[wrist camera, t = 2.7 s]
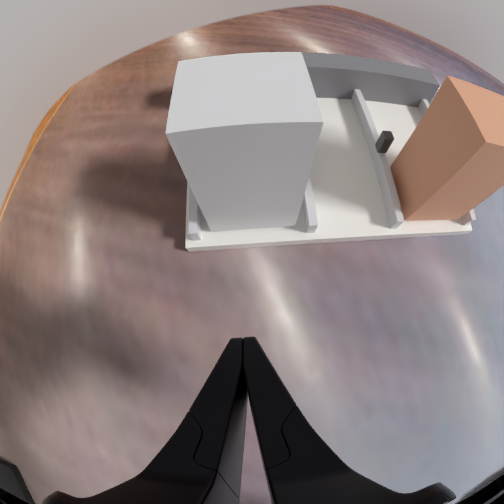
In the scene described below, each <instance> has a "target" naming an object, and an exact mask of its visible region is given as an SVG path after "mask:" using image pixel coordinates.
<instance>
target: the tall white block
mask: <svg viewBox="0 0 504 504" xmlns="http://www.w3.org/2000/svg"><path fill="white" fill-rule="evenodd" d="M322 126H323V119H322V116H321V112H320V108H319V105H318V102H317V98H316V95H315V92H314V88H313V85H312V82H311V79H310V76H309V73H308V70H307V67H306V64H305V61H304V58H303V55H302V52H262V53H243V54H231V55H220V56H212V57H204V58H197V59H190V60H184V61H179V62H178V66H177V71H176V76H175V81H174V86H173V91H172V97H171V102H170V108H169V114H168V120H167V127H166V133H165V134H166V136H167V138H168V140H169V143H170V145H171V147H172V149H173V151H174V153H175V156H176V158H177V160H178V162H179V164H180V166H181V169H182V171H183V173H184V175H185V177H186V179H187V181H188V184H189V186H190V188H191V190H192V192H193V194H194V196H195V198H196V200H197V203H198V205H199V207H200V209H201V211H202V213H203V215H204V217H205V219H206V221H207V223H208V225H209V227H210V230H211V231H225V230H239V229H254V228H269V227H285V226H295V225H296V221H297V218H298V214H299V211H300V207H301V204H302V200H303V197H304V193H305V190H306V186H307V182H308V179H309V175H310V171H311V168H312V164H313V160H314V156H315V153H316V149H317V145H318V141H319V137H320V133H321V129H322Z"/></svg>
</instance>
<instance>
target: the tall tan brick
mask: <svg viewBox="0 0 504 504" xmlns="http://www.w3.org/2000/svg"><path fill="white" fill-rule="evenodd" d="M390 169H391V172H392V175H393V179H394V182H395V185H396V189H397V193H398V196H399V200H400V204H401V208H402V212H403V216H404V220H405V221H419V220H458V219H459V218H460V217H462V216H463V215H465V214H466V213H467V212H469V211H470V210H472V209H473V208H474V207H476V206H477V205H478V204H480V203H481V202H482V201H484V200H485V199H486V198H488V197H489V196H490V195H492V194H493V193H494V192H496V191H497V190H498V189H499V188H501V187H502V186H503V185H504V96H501V95H499V94H497V93H494V92H492V91H490V90H487V89H485V88H482V87H480V86H477V85H474V84H471V83H469V82H466V81H463V80H460V79H457V78H454V77H451V76H447V77H446V79H445V80H444V82H443V84H442V86H441V87H440V89H439V91H438V92H437V94H436V96H435V97H434V99H433V101H432V102H431V104H430V106H429V107H428V109H427V111H426V112H425V114H424V116H423V117H422V119H421V120H420V122H419V124H418V125H417V127H416V128H415V130H414V131H413V133H412V135H411V136H410V138H409V139H408V141H407V142H406V144H405V145H404V147H403V148H402V150H401V151H400V153H399V154H398V156H397V157H396V159H395V160H394V162H393V163H392V165H391V166H390Z"/></svg>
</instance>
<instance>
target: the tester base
mask: <svg viewBox="0 0 504 504" xmlns="http://www.w3.org/2000/svg"><path fill="white" fill-rule="evenodd" d="M302 55H303V58H304V61H305V64H306V67H307V70H308V73H309V76H310V79H311V82H312V85H313V88H314V92H315V95H316V98H317V102H318V105H319V108H320V112H321V116H322V119H323V126H322V129H321V133H320V137H319V141H318V145H317V149H316V153H315V156H314V160H313V164H312V168H311V171H310V175H309V179H308V182H307V186H306V190H305V193H304V197H303V200H302V204H301V207H300V211H299V214H298V218H297V221H296V225H295V226H285V227H269V228H254V229H239V230H225V231H211V230H210V227H209V225H208V223H207V221H206V219H205V217H204V215H203V213H202V211H201V209H200V207H199V205H198V203H197V200H196V198H195V196H194V194H193V192H192V190H191V188H190V186H189V184H188V181H187V203H186V242H185V248H186V249H187V250H188V251H189V252H192V251H207V250H222V249H237V248H252V247H267V246H282V245H298V244H313V243H329V242H345V241H361V240H378V239H394V238H411V237H428V236H445V235H463V234H468V233H470V232H471V231H472V227H471V223H472V222H474V221H475V220H476V217H475V214H474V210H473V209H472V210H470V211H469V212H467V213H466V214H465V215H463V216H462V217H460V218H459V219H458V220H419V221H405V220H404V216H403V212H402V208H401V204H400V200H399V196H398V193H397V189H396V185H395V182H394V179H393V175H392V172H391V169H390V166H391V165H392V163H393V162H394V160H395V159H396V157H397V156H398V154H399V153H400V151H401V150H402V148H403V147H404V145H405V144H406V142H407V141H408V139H409V138H410V136H411V135H412V133H413V131H414V130H415V128H416V127H417V125H418V124H419V122H420V120H421V119H422V117H423V116H424V114H425V112H426V111H427V109H428V107H429V106H430V104H429V103H430V101H431V100H432V98H433V96H434V95H435V93H436V91H437V90H438V88H439V86H440V85H439V84H438V82H437V80H436V79H435V77H434V76H433V74H432V73H431V71H429V70H426V69H422V68H417V67H413V66H409V65H404V64H399V63H394V62H389V61H383V60H377V59H371V58H364V57H356V56H348V55H337V54H325V53H305V52H302Z"/></svg>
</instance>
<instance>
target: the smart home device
mask: <svg viewBox="0 0 504 504" xmlns="http://www.w3.org/2000/svg"><path fill="white" fill-rule="evenodd" d="M0 487H2V488H4V489H5V490H7V491H9V492H10V493H12V494H14V495H16V496H18V497H20V498H22V499H23V500H25V501H27V502H29V503H31V504H35V503H34V501H33V499H32V497H31V495H30V493H29V491H28V489H27V487H26V485H25V483H24V480H23V478H22V476H21V474H20V472H19V470H18V468H17V467H16V466H15V465H13V464H10V463H8V462H6V461H3V460H1V459H0Z"/></svg>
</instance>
